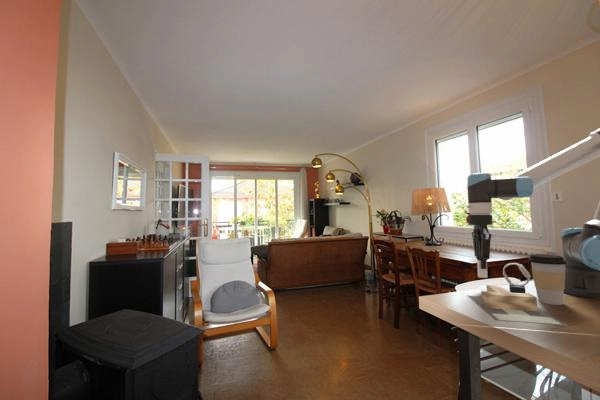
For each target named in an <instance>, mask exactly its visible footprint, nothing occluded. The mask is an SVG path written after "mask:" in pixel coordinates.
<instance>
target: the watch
mask: <svg viewBox="0 0 600 400" xmlns="http://www.w3.org/2000/svg"><path fill="white" fill-rule="evenodd" d="M513 265H515V266H517V268H518V269H519V271H520V272H521V273H522V275H523V276H524V277H525V278H526V279H527V280H526V281H525V282H524V283H514V282H512V280H510V279H509V277H508V275H507V274H506V271H505V269H507V267H509V266H513ZM502 275H503V277H504V279H505V280H506V282H507V283H508V284H509V291H510V292H512V293H526V285H528V284H529V282H530V281H531V279H530V278H532V276H531V273H530V272H529V271H528V270H527V269H526V267H525V266H524V265H523V264H522V263H521V264H520V263H518V262H509V263H507V264H505V265H504V267H503V269H502Z"/></svg>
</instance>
